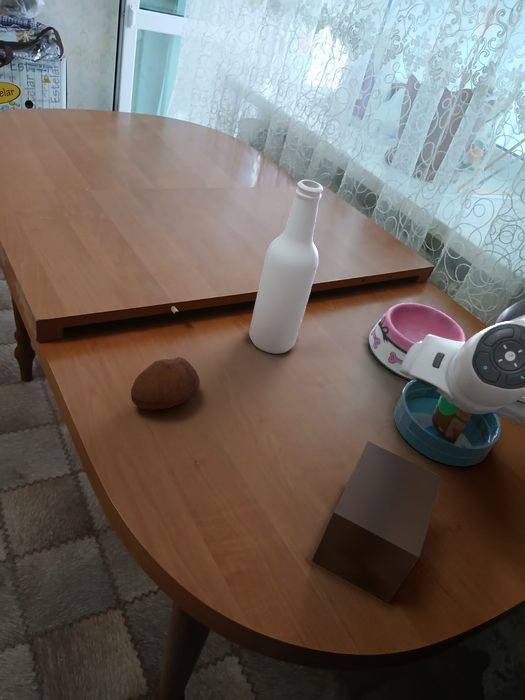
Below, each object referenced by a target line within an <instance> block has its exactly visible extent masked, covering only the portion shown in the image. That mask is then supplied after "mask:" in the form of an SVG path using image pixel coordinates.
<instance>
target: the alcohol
mask: <svg viewBox="0 0 525 700" xmlns="http://www.w3.org/2000/svg"><path fill="white" fill-rule="evenodd" d="M296 186H297V188H296V189H295V195H294V199H293V202H292V205H291V207H290V211H289V215H288V218H287V220H286V224H285V226H284V229H283V232H282V233H281V234H280V235H278V236H277V237H276V238H274V239H273V240H272V241H271V242H270V244H269V246H268V248H267V250H266V252H265V255H264V256H265V257H264V262H263V265H262V269H261V270H262V271H261V275H260V279H259V284H258V289H257V293H256V299H255V303H254V307H253V311H252V317H251V321H250V325H249V330H248V335H249V338H250V339H251V342H252V344H253V345H254V346H255V347H256V348H257V349H259V350H261V351H263V352H266V353H270V354H283V353H286V352H288V351H290V350H291V349H293V348H294V347H295V345H296V343H297V339H298V336H299V333H300V330H301V326H302V323H303V319H304V316H305V311H306V308H307V305H308V301H309V298H310V295H311V290H312V286H313V284H314V280H315V277H316V274H317V270H318V266H319V252H318V249H317V247H316V245H315V243H314V232H315V227H316V222H317V215H318V211H319V205H320V200H321V198H322V193H323V191H324V187H323V186H322V184H320V183H319V182H317V181H315V180H311V179H302V180H299V181H297V183H296Z"/></svg>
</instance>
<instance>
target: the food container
mask: <svg viewBox="0 0 525 700" xmlns="http://www.w3.org/2000/svg"><path fill="white" fill-rule="evenodd" d="M471 416H472V413H468V412H465V411H463V410H461V409H460V408H458V407H457V406H455V405H454V404H453V403H452V402H451V401H449V400H448V399H446V398H445V397H443V396H442V395H441V396H440V399H439V401H438V403H437V406H436V408H435V410H434V413H433V415H432V423H433V426H434V428H435V429H436V431H437V432H438V433H439V434H440V435H441V436H442V437H443V438H444V439H445V440H447V441H448V442H451V443H454V444H455V442H456V441H457V439H458V438H459V436H460V434H461V433H462V431H463V429H464V428H465V426H466V424H467V423H468V421H469V419H470V418H471Z"/></svg>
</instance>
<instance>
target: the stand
mask: <svg viewBox="0 0 525 700" xmlns="http://www.w3.org/2000/svg"><path fill="white" fill-rule="evenodd" d="M442 479H443V476H442V475H439V474H438V473H435V472H433V471H432V470H429V469H427V468H425V467H423V466H421V465H419V464H417V463H415V462H413V461H411V460H408V459H407V458H405V457H402V456H401V455H398V454H396V453H394V452H392V451H391V450H388V449H386V448H384V447H383V446H379V445H378V444H375V443H373V442H372V441H370V440H368V441H367V442H366V444H365V446H364V448H363V450H362V453H361V454H360V457H359V459H358V461H357V463H356V465H355V467H354V469H353V471H352V474H351V475H350V478H349V479H348V481H347V484H346V486H345V488H344V490H343V492H342V494H341V496H340V498H339V501H338V502H337V504H336V507H335V509H334V510H333V513H332V515H331V518H330V519H329V522H328V524H327V526H326V529H325V531H324V532H323V535H322V538H321V540H320V541H319V544H318V546H317V549H316V551H315V552H314V555H313V558H312V562H314V563H316V564H318V565H319V566H321V567H323V568H325V569H326V570H328V571H330V572H332V573H333V574H336V575H337V576H339V577H341V578H342V579H344V580H346V581H348V582H350V583H351V584H353V585H355V586H357V587H358V588H360V589H362V590H364V591H366V592H367V593H369V594H371V595H373V596H375V597H376V598H378V599H380V600H382V601H383V602H386V603H387V604H389V603H390V602H391V601H392V599H393V598H394V596H395V595H396V593H397V592H398V590H399V588H400V587H401V586H402V585H403V583H404V581H405V580H406V578H407V576H408V575H409V574H410V572H411V571H412V569H413V568H414V566H415V565H416V563H417V562H418V560H419V558H420V557H421V553H422V549H423V545H424V543H425V539H426V535H427V532H428V529H429V525H430V521H431V518H432V514H433V511H434V507H435V504H436V500H437V497H438V494H439V490H440V487H441V484H442Z"/></svg>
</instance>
